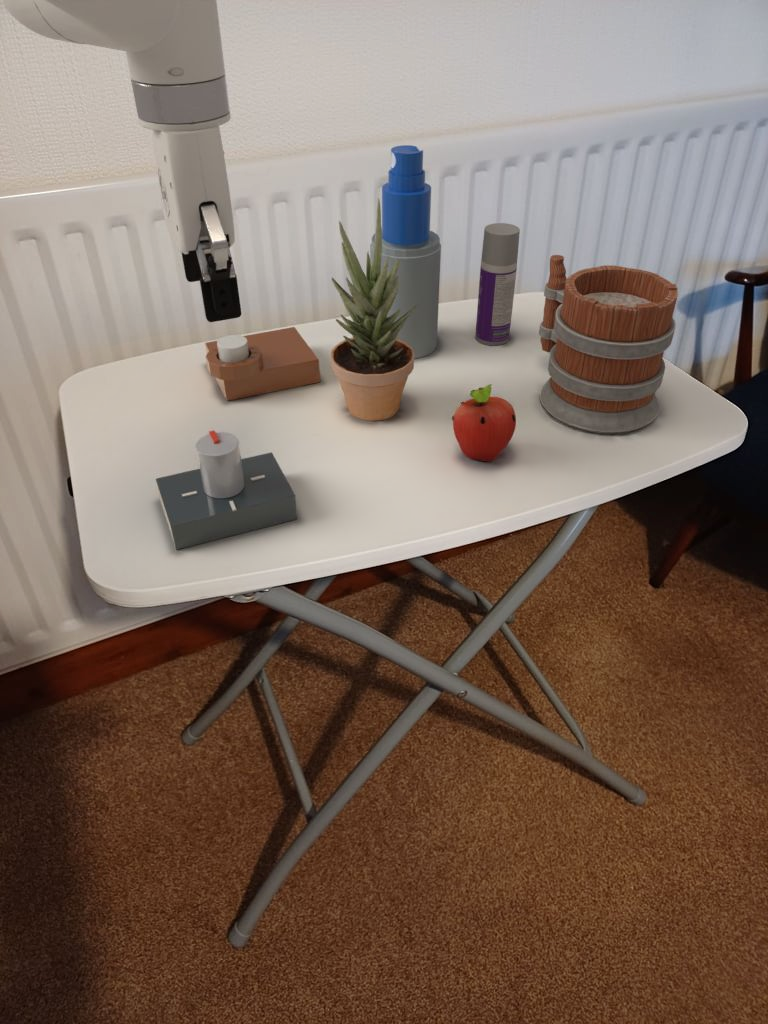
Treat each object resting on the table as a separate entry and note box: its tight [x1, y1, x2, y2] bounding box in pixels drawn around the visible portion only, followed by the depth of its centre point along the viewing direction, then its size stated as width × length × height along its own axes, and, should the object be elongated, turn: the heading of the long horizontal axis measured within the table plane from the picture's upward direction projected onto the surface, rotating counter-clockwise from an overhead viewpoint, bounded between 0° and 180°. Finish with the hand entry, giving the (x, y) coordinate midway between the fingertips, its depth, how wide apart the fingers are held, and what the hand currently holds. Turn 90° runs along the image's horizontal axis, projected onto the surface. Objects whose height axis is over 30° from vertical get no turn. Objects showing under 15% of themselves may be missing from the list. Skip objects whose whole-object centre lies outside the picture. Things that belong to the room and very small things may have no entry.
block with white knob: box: [204, 326, 321, 402], centre depth 98 cm, size 13×11×5 cm
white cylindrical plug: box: [216, 334, 249, 363], centre depth 94 cm, size 4×4×2 cm
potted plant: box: [330, 197, 419, 422], centre depth 86 cm, size 10×10×25 cm
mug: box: [538, 254, 679, 435], centre depth 92 cm, size 14×19×15 cm
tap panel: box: [155, 452, 298, 551], centre depth 78 cm, size 12×8×3 cm
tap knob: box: [195, 430, 245, 498], centre depth 75 cm, size 4×4×5 cm
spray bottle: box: [369, 144, 442, 360], centre depth 99 cm, size 9×9×25 cm
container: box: [474, 222, 521, 346], centre depth 104 cm, size 5×5×15 cm
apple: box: [451, 384, 517, 463], centre depth 83 cm, size 8×7×10 cm
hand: (212, 297), depth 75 cm, fingers open, 9 cm apart
